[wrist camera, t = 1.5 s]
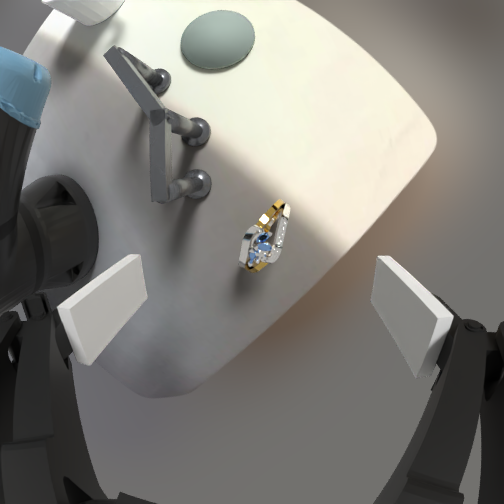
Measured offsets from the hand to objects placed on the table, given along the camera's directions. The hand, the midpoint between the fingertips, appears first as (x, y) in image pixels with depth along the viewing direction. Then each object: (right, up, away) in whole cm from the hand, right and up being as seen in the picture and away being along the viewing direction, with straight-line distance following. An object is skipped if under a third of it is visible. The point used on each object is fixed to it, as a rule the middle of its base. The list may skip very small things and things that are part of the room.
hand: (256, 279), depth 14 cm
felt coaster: (-4, +24, +8) cm, 26 cm away
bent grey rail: (-8, +14, +12) cm, 20 cm away
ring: (+1, +4, +14) cm, 15 cm away
